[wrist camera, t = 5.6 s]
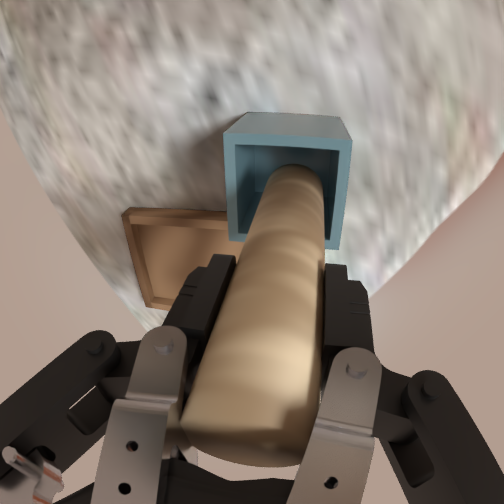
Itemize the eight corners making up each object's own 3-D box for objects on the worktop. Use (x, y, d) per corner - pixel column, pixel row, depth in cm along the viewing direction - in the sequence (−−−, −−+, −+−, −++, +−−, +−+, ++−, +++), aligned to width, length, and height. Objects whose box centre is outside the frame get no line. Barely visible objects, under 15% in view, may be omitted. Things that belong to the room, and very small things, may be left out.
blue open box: (340, 117, 20) (352, 140, 15) (333, 200, 24) (338, 250, 18) (247, 112, 21) (222, 133, 16) (249, 194, 25) (228, 240, 19)
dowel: (325, 165, 16) (326, 428, 5) (320, 217, 18) (306, 471, 7) (266, 162, 17) (162, 403, 6) (266, 213, 19) (191, 454, 7)
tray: (271, 214, 26) (269, 224, 25) (269, 312, 32) (267, 323, 31) (129, 207, 28) (121, 215, 26) (151, 297, 34) (146, 307, 33)
